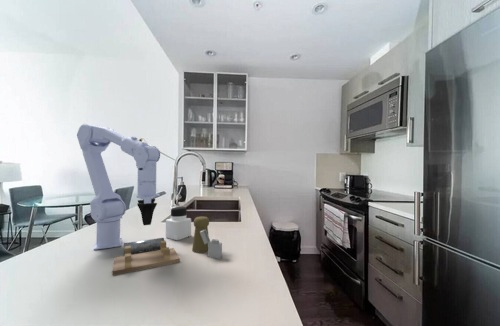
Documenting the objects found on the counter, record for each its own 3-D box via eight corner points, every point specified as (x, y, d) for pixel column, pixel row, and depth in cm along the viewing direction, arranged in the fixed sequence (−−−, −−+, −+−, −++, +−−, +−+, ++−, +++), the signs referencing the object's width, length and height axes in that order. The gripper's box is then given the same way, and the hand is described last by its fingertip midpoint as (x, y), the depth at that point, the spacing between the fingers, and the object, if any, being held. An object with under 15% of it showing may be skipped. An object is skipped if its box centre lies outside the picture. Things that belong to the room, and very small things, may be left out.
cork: (206, 253, 73) (206, 219, 73) (188, 252, 74) (189, 218, 74) (212, 247, 79) (213, 215, 79) (196, 245, 80) (197, 214, 80)
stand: (114, 261, 67) (114, 247, 67) (173, 250, 75) (173, 238, 75) (112, 275, 58) (112, 259, 58) (179, 261, 66) (179, 248, 66)
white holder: (222, 256, 70) (222, 230, 70) (219, 258, 69) (219, 232, 69) (202, 253, 72) (202, 228, 73) (199, 255, 71) (199, 230, 71)
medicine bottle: (191, 236, 91) (191, 206, 91) (177, 240, 85) (177, 209, 85) (179, 233, 95) (179, 204, 95) (165, 237, 89) (165, 207, 89)
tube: (124, 252, 74) (124, 241, 74) (162, 246, 80) (162, 236, 80) (124, 256, 71) (124, 245, 71) (164, 249, 76) (164, 239, 76)
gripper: (161, 182, 71) (161, 225, 70) (158, 180, 84) (158, 216, 83) (136, 183, 67) (136, 228, 67) (137, 180, 80) (136, 218, 80)
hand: (146, 222), depth 75 cm, fingers open, 7 cm apart
